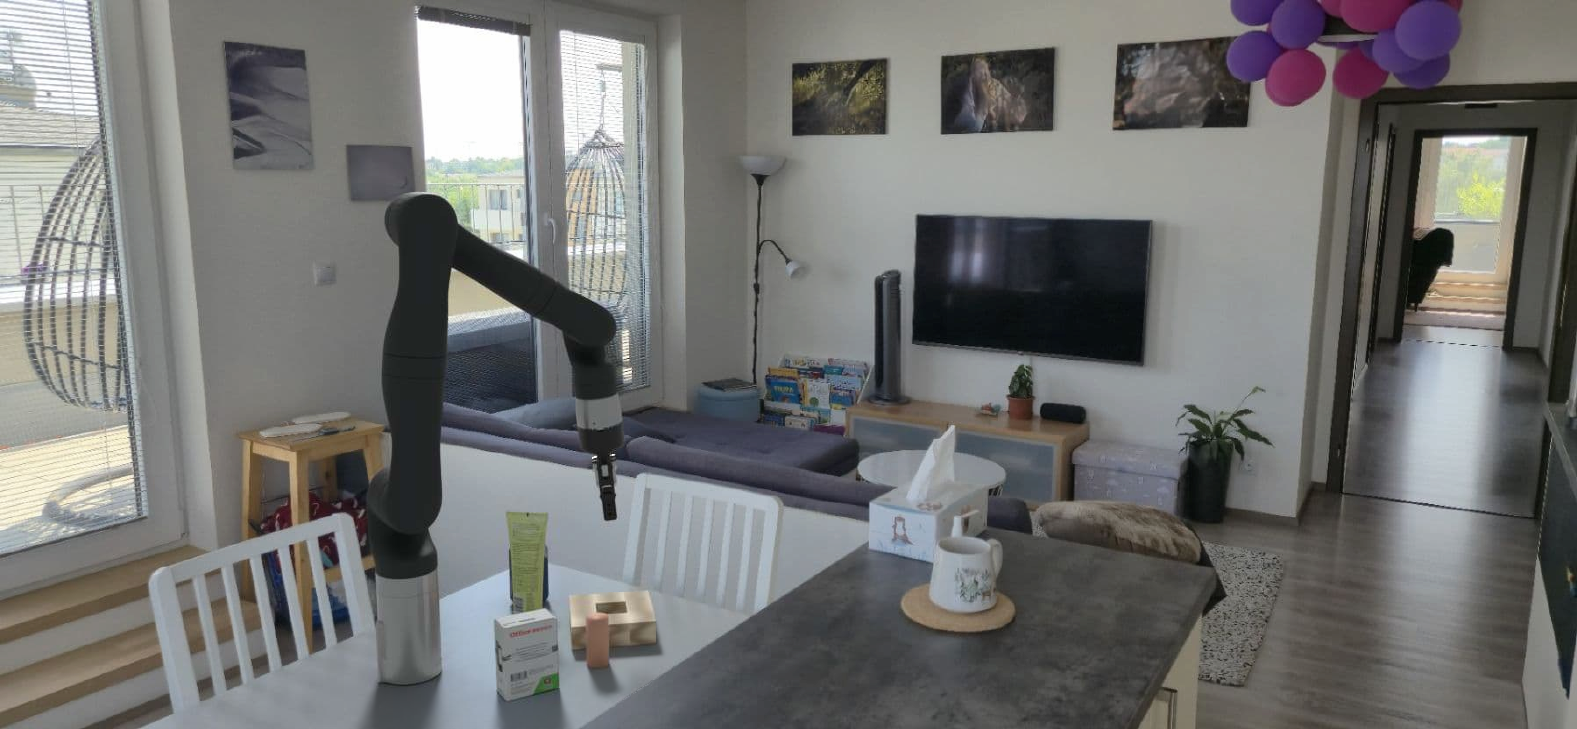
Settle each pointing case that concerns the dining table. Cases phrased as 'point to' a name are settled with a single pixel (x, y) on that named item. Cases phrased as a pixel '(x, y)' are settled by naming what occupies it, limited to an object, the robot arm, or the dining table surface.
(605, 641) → the peg
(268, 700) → the dining table surface
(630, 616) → the socket
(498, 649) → the ink box
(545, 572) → the soda can
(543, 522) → the tube
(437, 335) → the robot arm
